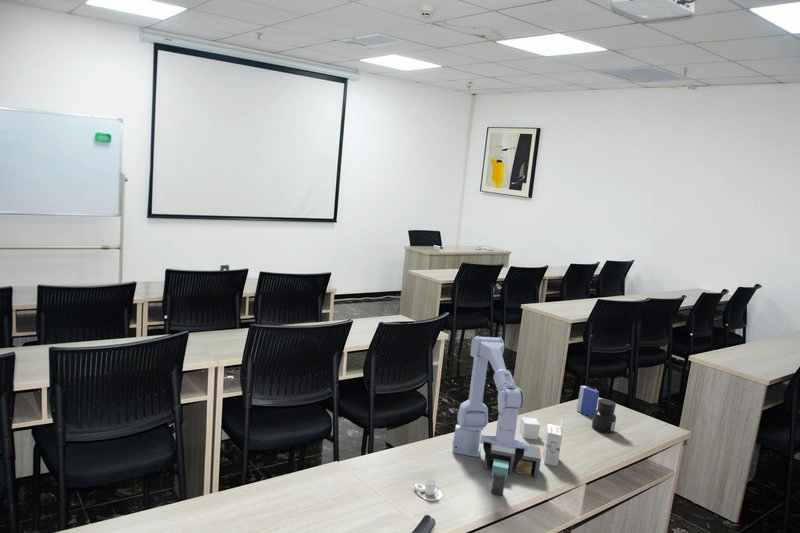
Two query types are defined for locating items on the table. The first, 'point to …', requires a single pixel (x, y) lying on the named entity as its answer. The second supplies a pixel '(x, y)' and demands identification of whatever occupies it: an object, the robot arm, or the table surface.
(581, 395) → the walkman
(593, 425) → the ink bottle
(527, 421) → the white cube
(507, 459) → the cubby shelf
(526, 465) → the ochre block
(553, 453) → the ink cartridge box
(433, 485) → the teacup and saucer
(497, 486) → the block
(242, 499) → the table surface
